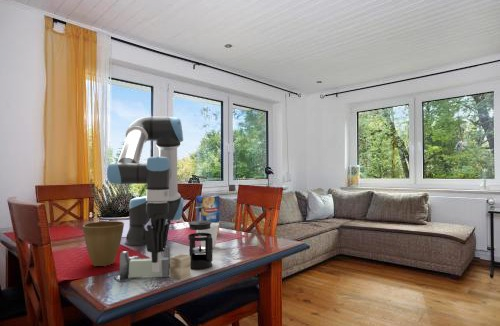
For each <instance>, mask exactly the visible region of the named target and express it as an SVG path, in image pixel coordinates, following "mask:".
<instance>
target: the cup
mask: <svg viewBox="0 0 500 326" xmlns="http://www.w3.org/2000/svg"><path fill="white" fill-rule="evenodd" d="M218 225H219V226H220V223H219V224H218V223H211V224H210V229H206V230H201V233H210V234H212V249H214V248H216V244H217V243H216V242H217V236H218V235H217V231H218ZM201 237H207V236H201ZM201 247H205V241H201Z"/></svg>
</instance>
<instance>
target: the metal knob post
mask: <svg viewBox="0 0 500 326" xmlns="http://www.w3.org/2000/svg"><path fill="white" fill-rule="evenodd" d="M129 253H130V252H129V251H126V250H125V251H121V252H119V275H117V276H113V280H115V281H116V282H119V283H123V282H127V281H131V280H134V279H135V278H136V277H131V278H129V261H130V260H131V259H140V257H139V256H138V255H133V256H130V255H129Z"/></svg>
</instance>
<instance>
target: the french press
mask: <svg viewBox="0 0 500 326" xmlns="http://www.w3.org/2000/svg"><path fill="white" fill-rule="evenodd" d="M203 208H205V207H194V209H199V212H200V221H196V220H193V221H189V222H188V225H189V229H190V230H192V231H196V230H200V233H196V232H194V233H190V234H188V241H189V246H188V247H189V252H188V254H189V256H191V270H194V271H198V270H199V271H200V270H201V271H202V270H207V269H210V268H212V266H213V263H212V262H213V248H212V234H210V233H201V230H206V229H210V224H211V223H212V222H210V221H201V209H203ZM201 236H207V237H201ZM201 241H205V247H202V242H201ZM196 242H199V246H196Z"/></svg>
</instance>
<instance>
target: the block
mask: <svg viewBox="0 0 500 326" xmlns="http://www.w3.org/2000/svg"><path fill="white" fill-rule="evenodd" d="M191 270H192V269H191V256H189V255H187V254H183V253H179V254H176V255H174V256H170V269H169V279H170V278H171V279H175V280H180V281H183V280H184V279H186V278H188V277H190V276H191V275H192V274H191Z"/></svg>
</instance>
